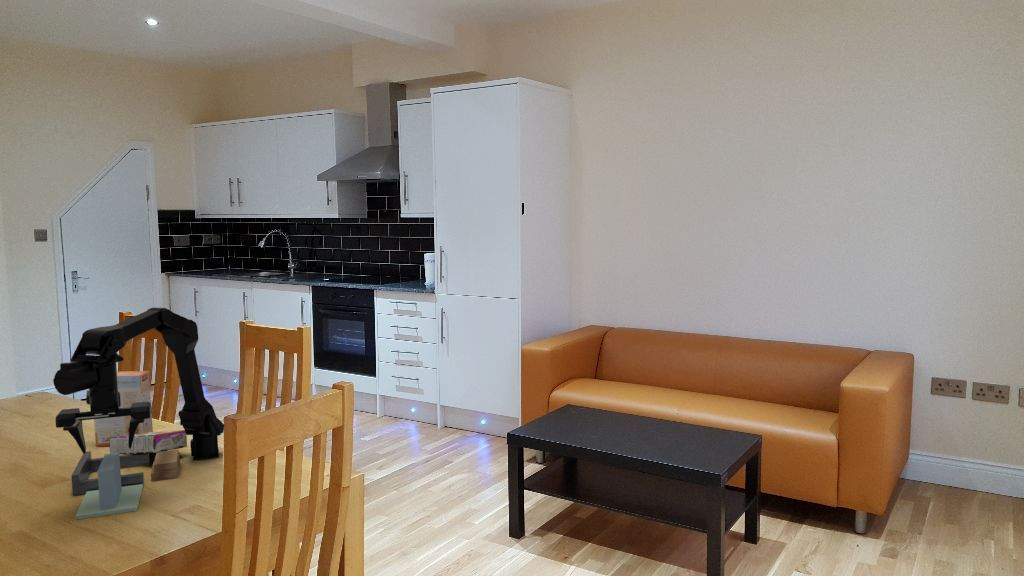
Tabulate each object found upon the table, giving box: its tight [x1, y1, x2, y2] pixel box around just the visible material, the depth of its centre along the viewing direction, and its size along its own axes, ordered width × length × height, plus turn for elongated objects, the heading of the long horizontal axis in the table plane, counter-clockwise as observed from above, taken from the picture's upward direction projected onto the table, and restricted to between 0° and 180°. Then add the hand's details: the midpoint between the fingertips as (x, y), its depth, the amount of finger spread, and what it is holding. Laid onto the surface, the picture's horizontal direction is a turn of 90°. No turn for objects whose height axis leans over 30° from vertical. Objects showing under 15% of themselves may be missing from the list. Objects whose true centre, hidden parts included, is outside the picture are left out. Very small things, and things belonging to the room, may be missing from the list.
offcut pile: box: [150, 449, 181, 482], centre depth 186 cm, size 6×12×4 cm, turn 22°
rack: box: [70, 451, 151, 497], centre depth 182 cm, size 15×18×5 cm
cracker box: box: [93, 370, 154, 447], centre depth 208 cm, size 14×6×21 cm, turn 92°
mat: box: [75, 484, 144, 520], centre depth 167 cm, size 12×15×1 cm
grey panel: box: [97, 453, 122, 510], centre depth 167 cm, size 3×12×9 cm, turn 22°
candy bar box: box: [109, 429, 188, 455], centre depth 196 cm, size 11×5×16 cm
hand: (107, 450), depth 166 cm, fingers open, 9 cm apart
